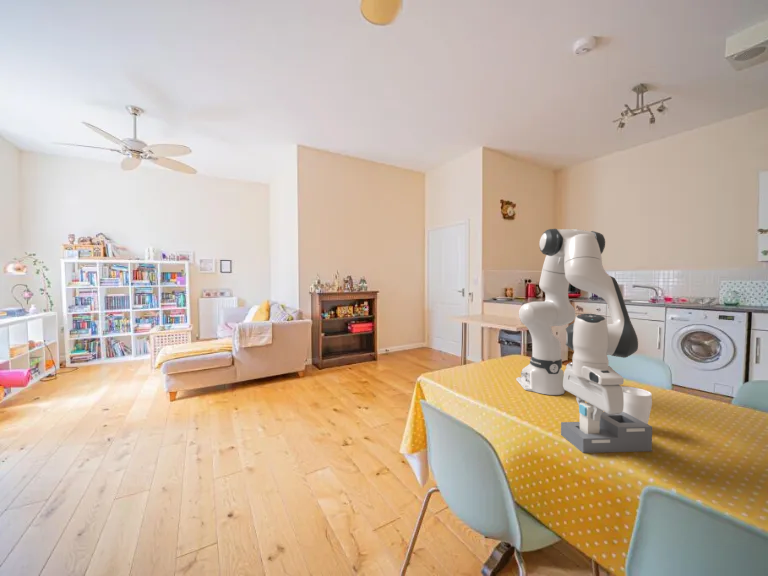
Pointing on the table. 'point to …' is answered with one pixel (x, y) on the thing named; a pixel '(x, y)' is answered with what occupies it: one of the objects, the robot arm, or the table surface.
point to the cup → (637, 403)
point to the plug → (588, 419)
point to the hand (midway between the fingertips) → (589, 416)
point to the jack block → (611, 435)
